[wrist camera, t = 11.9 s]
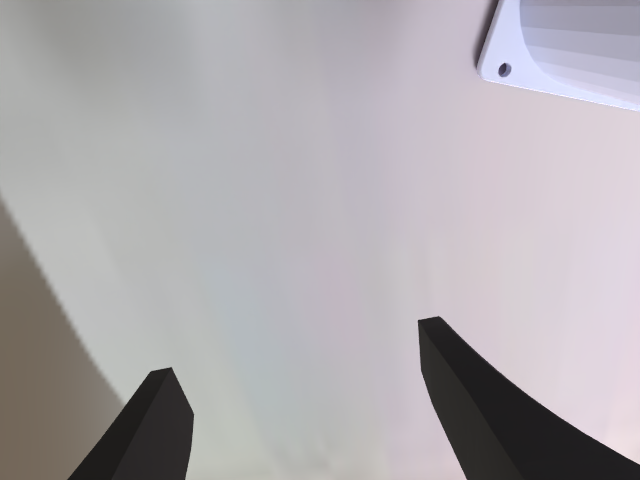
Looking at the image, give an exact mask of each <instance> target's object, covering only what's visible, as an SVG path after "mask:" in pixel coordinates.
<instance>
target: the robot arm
mask: <svg viewBox="0 0 640 480" xmlns="http://www.w3.org/2000/svg"><path fill="white" fill-rule="evenodd" d="M503 63H506V66H507V68H506V71H505V73H504V74H503V75H501V76H499V74H498V69H499V67H500V66H501V65H502V64H503ZM477 74H478V75H479V77H480V78H481V79H484V80H486V81H490V82H495V83H500V84H505V85H510V86H515V87H520V88H525V89H530V90H535V91H540V92H545V93H550V94H555V95H560V96H565V97H570V98H575V99H580V100H585V101H590V102H595V103H600V104H605V105H610V106H615V107H620V108H625V109H630V110H635V111H640V0H499V2H498V5H497V8H496V11H495V14H494V17H493V20H492V23H491V26H490V29H489V32H488V35H487V38H486V40H485V43H484V46H483V49H482V52H481V55H480V58H479V61H478V64H477ZM418 329H419V345H420V360H421V372H422V375H423V378H424V381H425V384H426V387H427V390H428V393H429V396H430V399H431V402H432V404H433V407H434V409H435V411H436V413H437V415H438V418H439V420H440V422H441V424H442V426H443V429H444V431H445V433H446V435H447V437H448V440H449V442H450V444H451V446H452V448H453V450H454V453H455V455H456V457H457V459H458V461H459V463H460V466H461V468H462V470H463V472H464V474H465V476H466V479H467V480H640V465H639V464H637V463H636V462H634V461H632V460H630V459H628V458H626V457H624V456H623V455H621V454H619V453H617V452H616V451H614V450H612V449H611V448H609V447H607V446H605V445H604V444H602V443H600V442H599V441H597V440H595V439H593V438H592V437H590V436H588V435H586V434H585V433H583V432H582V431H580V430H578V429H577V428H575V427H574V426H572V425H571V424H569V423H568V422H566V421H565V420H563V419H561V418H560V417H558V416H557V415H555V414H554V413H553V412H551V411H550V410H548V409H547V408H545V407H544V406H542V405H541V404H540V403H538V402H537V401H536V400H534V399H533V398H531V397H530V396H529V395H527V394H526V393H525V392H524V391H522V390H521V389H520V388H518V387H517V386H516V385H515V384H513V383H512V382H511V381H510V380H508V379H507V378H506V377H505V376H503V375H502V374H501V373H500V372H499V371H497V370H496V369H495V368H494V367H493V366H492V365H491V364H489V363H488V362H487V361H486V360H485V359H484V358H483V357H481V356H480V355H479V354H478V353H477V352H476V351H475V350H474V349H473V348H472V347H471V346H469V345H468V344H467V343H466V342H465V341H464V340H463V339H462V338H461V337H460V336H459V335H458V334H457V333H456V332H455V331H454V330H453V329H452V328H451V327H450V326H449V325H448V324H447V323H446V322H445V321H444V320H443V319H442V318H441V317H439V316H437V317H432V318H427V319H422V320H418ZM193 421H194V413H193V411H192V409H191V407H190V405H189V402H188V400H187V398H186V396H185V394H184V392H183V390H182V388H181V386H180V384H179V382H178V380H177V378H176V375H175V373H174V371H173V369H172V367H171V368H165V369H160V370H155V371H151V372H150V373H149V374H148V376H147V377H146V378H145V380H144V381H143V382H142V384H141V385H140V386H139V388H138V389H137V391H136V392H135V393H134V395H133V396H132V397H131V399H130V400H129V402H128V403H127V404H126V406H125V407H124V408H123V410H122V412H120V414H119V415H118V417H117V418H116V419H115V421H114V422H113V423H112V424H111V426H110V427H109V428H108V430H107V431H106V432H105V434H104V435H103V436H102V438H101V439H100V440H99V442H98V443H97V444H96V445H95V447H94V448H93V449H92V450H91V451H90V453H89V454H88V455H87V456H86V458H85V459H84V460H83V461H82V463H81V464H80V465H79V466H78V467H77V469H76V470H75V471H74V472H73V474H72V475H71V476H70V477H69V478H68V480H185V477H186V472H187V467H188V462H189V457H190V452H191V445H192V434H193Z"/></svg>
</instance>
